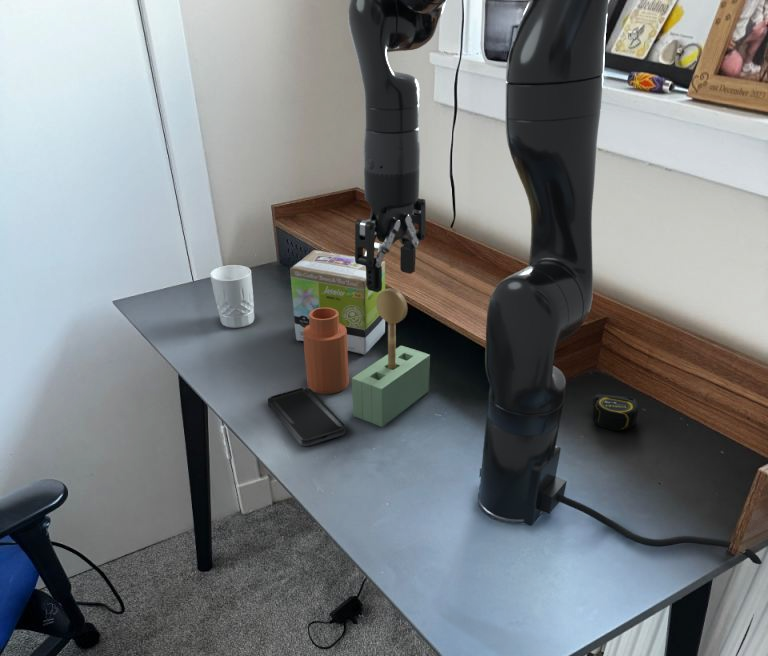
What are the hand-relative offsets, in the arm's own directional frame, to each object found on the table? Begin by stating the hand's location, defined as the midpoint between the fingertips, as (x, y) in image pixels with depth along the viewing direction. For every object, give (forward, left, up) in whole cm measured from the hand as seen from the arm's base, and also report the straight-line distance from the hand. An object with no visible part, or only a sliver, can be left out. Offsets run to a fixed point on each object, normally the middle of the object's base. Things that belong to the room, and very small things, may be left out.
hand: (391, 281), depth 108 cm
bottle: (+13, +1, -21) cm, 25 cm away
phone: (+9, +12, -21) cm, 26 cm away
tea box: (+22, -14, -21) cm, 34 cm away
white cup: (+44, -8, -21) cm, 50 cm away
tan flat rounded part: (0, 0, -21) cm, 21 cm away
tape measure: (-32, -16, -21) cm, 42 cm away
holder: (0, 0, -21) cm, 21 cm away
